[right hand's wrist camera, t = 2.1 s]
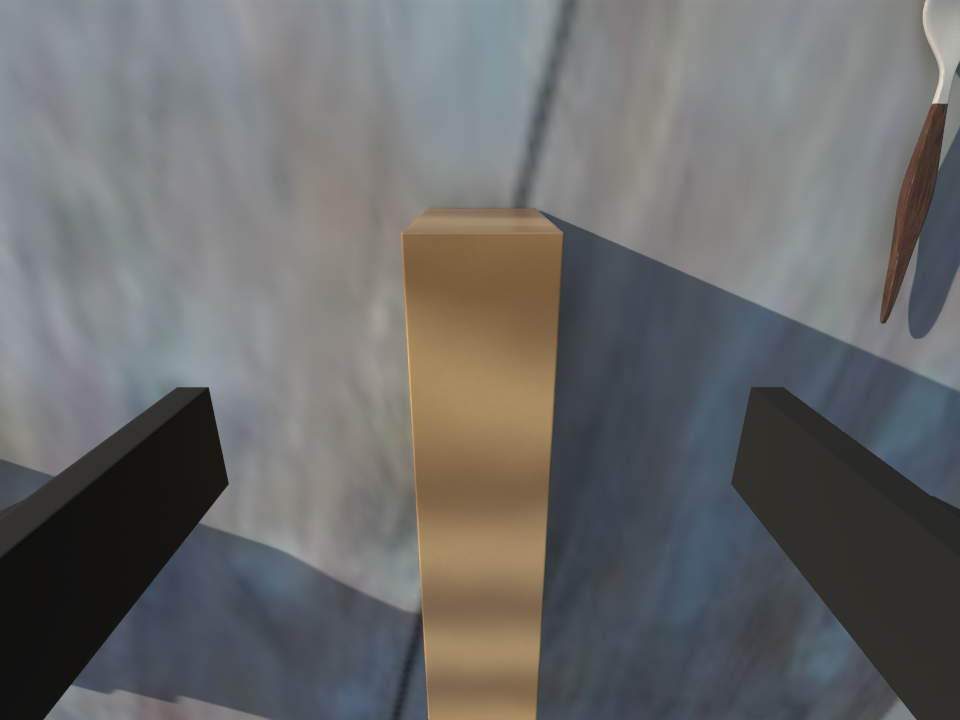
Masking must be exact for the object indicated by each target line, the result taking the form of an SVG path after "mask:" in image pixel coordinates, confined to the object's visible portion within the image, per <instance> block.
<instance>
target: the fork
mask: <svg viewBox="0 0 960 720" xmlns="http://www.w3.org/2000/svg"><path fill="white" fill-rule="evenodd" d="M923 26H924V31H925V34H926V37H927V40H928V42H929V44H930V46H931V48H932V51H933V53H934V55H935V57H936V59H937V62H938V65H939V71H940V77H939V83H938V87H937V91H936V94H935V97H934V100H933V102H932V105H931V108H930V110H929V113H928V116H927V119H926V121H925V124H924V126H923V129H922V132H921V134H920V137H919V140H918V142H917V145H916V148H915V150H914V153H913V156H912V158H911V161H910V164H909V167H908V170H907V172H906V175H905V179H904V182H903V185H902V188H901V192H900V196H899V201H898V206H897V212H896V218H895V225H894V233H893V240H892V248H891V254H890V260H889V266H888V271H887V277H886V282H885V288H884V294H883V300H882V307H881V317H880V322H881V323H886V321H887V319H888V317H889V315H890V313H891V311H892V308H893V306H894V303H895V300H896V298H897V295H898V292H899V290H900V287H901V284H902V281H903V278H904V275H905V273H906V270H907V267H908V264H909V261H910V258H911V256H912V253H913V250H914V248H915V245H916V242H917V240H918V237H919V234H920V232H921V229H922V226H923V224H924V221H925V218H926V215H927V212H928V209H929V206H930V203H931V200H932V196H933V192H934V188H935V183H936V178H937V172H938V166H939V160H940V153H941V146H942V139H943V133H944V126H945V119H946V112H947V106H948V99H949V94H950V89H951V84H952V80H953V77H954V74H955V71H956V68H957V66H958V64H959V62H960V0H926V1H925V5H924V9H923Z"/></svg>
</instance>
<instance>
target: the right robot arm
mask: <svg viewBox="0 0 960 720" xmlns="http://www.w3.org/2000/svg"><path fill="white" fill-rule="evenodd" d="M228 484H229V483H228V478H227V473H226V468H225V464H224V459H223V454H222V449H221V444H220V440H219V435H218V430H217V425H216V420H215V416H214V411H213V406H212V401H211V396H210V391H209V387H177V388H176V389H174V390H173V391H171V392H170V393H169V394H167V395H166V396H165V397H163V398H162V399H161V400H159V401H158V402H157V403H155V404H154V405H152V406H151V407H150V408H148V409H147V410H146V411H144V412H143V413H142V414H140V415H139V416H138V417H136V418H135V419H133V420H132V421H131V422H129V423H128V424H127V425H125V426H124V427H123V428H121V429H120V430H118V431H117V432H116V433H114V434H113V435H112V436H110V437H109V438H108V439H106V440H105V441H104V442H102V443H101V444H99V445H98V446H97V447H95V448H94V449H93V450H91V451H90V452H89V453H87V454H86V455H84V456H83V457H82V458H80V459H79V460H78V461H76V462H75V463H74V464H72V465H71V466H70V467H68V468H67V469H65V470H64V471H63V472H61V473H60V474H59V475H57V476H56V477H55V478H53V479H52V480H51V481H49V482H48V483H46V484H45V485H44V486H42V487H41V488H40V489H38V490H37V491H36V492H34V493H33V494H31V495H30V496H29V497H27V498H26V499H25V500H23V501H21V502H19V503H17V504H15V505H13V506H11V507H9V508H7V509H5V510H3V511H1V512H0V720H43V719H44V718H45V717H46V716H47V714H48V713H49V712H50V711H51V709H52V708H53V707H54V706H55V704H56V703H57V702H58V700H59V699H60V698H61V697H62V695H63V694H64V693H65V692H66V690H67V689H68V688H69V686H70V685H71V684H72V683H73V681H74V680H75V679H76V678H77V676H78V675H79V674H80V672H81V671H82V670H83V669H84V667H85V666H86V665H87V664H88V662H89V661H90V660H91V658H92V657H93V656H94V655H95V653H96V652H97V651H98V650H99V648H100V647H101V646H102V644H103V643H104V642H105V641H106V639H107V638H108V637H109V636H110V634H111V633H112V632H113V630H114V629H115V628H116V627H117V625H118V624H119V623H120V622H121V620H122V619H123V618H124V617H125V615H126V614H127V613H128V611H129V610H130V609H131V608H132V606H133V605H134V604H135V603H136V601H137V600H138V599H139V597H140V596H141V595H142V594H143V592H144V591H145V590H146V589H147V587H148V586H149V585H150V583H151V582H152V581H153V580H154V578H155V577H156V576H157V575H158V573H159V572H160V571H161V569H162V568H163V567H164V566H165V564H166V563H167V562H168V561H169V559H170V558H171V557H172V555H173V554H174V553H175V552H176V550H177V549H178V548H179V547H180V545H181V544H182V543H183V542H184V540H185V539H186V538H187V536H188V535H189V534H190V533H191V531H192V530H193V529H194V528H195V526H196V525H197V524H198V522H199V521H200V520H201V519H202V517H203V516H204V515H205V514H206V512H207V511H208V510H209V508H210V507H211V506H212V505H213V503H214V502H215V501H216V500H217V498H218V497H219V496H220V494H221V493H222V492H223V491H224V489H225V488H226V487H227V486H228ZM731 484H732V486H733V487H734V488H735V489H736V491H737V492H738V493H739V494H740V496H741V497H742V498H743V500H744V501H745V502H746V503H747V505H748V506H749V507H750V508H751V510H752V511H753V512H754V514H755V515H756V516H757V517H758V519H759V520H760V521H761V522H762V524H763V525H764V526H765V528H766V529H767V530H768V531H769V533H770V534H771V535H772V536H773V538H774V539H775V540H776V542H777V543H778V544H779V545H780V547H781V548H782V549H783V550H784V552H785V553H786V554H787V555H788V557H789V558H790V559H791V561H792V562H793V563H794V564H795V566H796V567H797V568H798V569H799V571H800V572H801V573H802V575H803V576H804V577H805V578H806V580H807V581H808V582H809V583H810V585H811V586H812V587H813V589H814V590H815V591H816V592H817V594H818V595H819V596H820V597H821V599H822V600H823V601H824V603H825V604H826V605H827V606H828V608H829V609H830V610H831V611H832V613H833V614H834V615H835V617H836V618H837V619H838V620H839V622H840V623H841V624H842V625H843V627H844V628H845V629H846V630H847V632H848V633H849V634H850V636H851V637H852V638H853V639H854V641H855V642H856V643H857V644H858V646H859V647H860V648H861V650H862V651H863V652H864V653H865V655H866V656H867V657H868V658H869V660H870V661H871V662H872V664H873V665H874V666H875V667H876V669H877V670H878V671H879V672H880V674H881V675H882V676H883V678H884V679H885V680H886V681H887V683H888V684H889V685H890V686H891V688H892V689H893V690H894V692H895V693H896V694H897V695H898V697H899V698H900V699H901V700H902V702H903V703H904V704H905V706H906V707H907V708H908V709H909V711H910V712H911V713H912V714H913V716H914V717H915V718H916V719H917V720H960V509H958V508H956V507H954V506H952V505H950V504H948V503H946V502H944V501H942V500H940V499H938V498H936V497H934V496H930V495H929V494H927V493H926V492H924V491H923V490H922V489H920V488H919V487H918V486H916V485H915V484H914V483H912V482H911V481H909V480H908V479H907V478H905V477H904V476H903V475H901V474H900V473H899V472H897V471H896V470H895V469H893V468H892V467H890V466H889V465H888V464H886V463H885V462H884V461H882V460H881V459H880V458H878V457H877V456H876V455H874V454H873V453H871V452H870V451H869V450H867V449H866V448H865V447H863V446H862V445H861V444H859V443H858V442H856V441H855V440H854V439H852V438H851V437H850V436H848V435H847V434H846V433H844V432H843V431H842V430H840V429H839V428H837V427H836V426H835V425H833V424H832V423H831V422H829V421H828V420H827V419H825V418H824V417H822V416H821V415H820V414H818V413H817V412H816V411H814V410H813V409H812V408H810V407H809V406H808V405H806V404H805V403H803V402H802V401H801V400H799V399H798V398H797V397H795V396H794V395H793V394H791V393H790V392H788V391H787V390H786V389H784V388H783V387H751V391H750V396H749V401H748V406H747V411H746V416H745V420H744V425H743V430H742V435H741V440H740V444H739V449H738V454H737V459H736V464H735V468H734V473H733V478H732V483H731Z"/></svg>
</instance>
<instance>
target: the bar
mask: <svg viewBox="0 0 960 720" xmlns="http://www.w3.org/2000/svg"><path fill="white" fill-rule="evenodd" d="M401 240H402V257H403V275H404V293H405V311H406V329H407V347H408V364H409V382H410V400H411V418H412V436H413V453H414V471H415V489H416V507H417V525H418V543H419V560H420V578H421V596H422V614H423V632H424V649H425V667H426V685H427V703H428V720H536V718H537V701H538V683H539V666H540V648H541V631H542V613H543V595H544V578H545V560H546V543H547V525H548V508H549V490H550V473H551V455H552V438H553V420H554V403H555V385H556V368H557V350H558V333H559V315H560V297H561V280H562V262H563V245H564V233H563V232H562V231H561V230H560V229H559V228H558V227H556V226H555V225H554V224H553V223H552V222H551V221H549V220H548V219H547V218H546V217H545V216H544V215H543V214H541V213H540V212H539V211H538V210H537V209H535V208H430V209H428V210H427V211H426V212H425V213H424V214H422V215H421V216H420V217H419V218H418V219H417V220H416V221H415V222H413V223H412V224H411V225H410V226H409V227H408V228H407V229H406V230H404V231H403V232H402V234H401Z"/></svg>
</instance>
